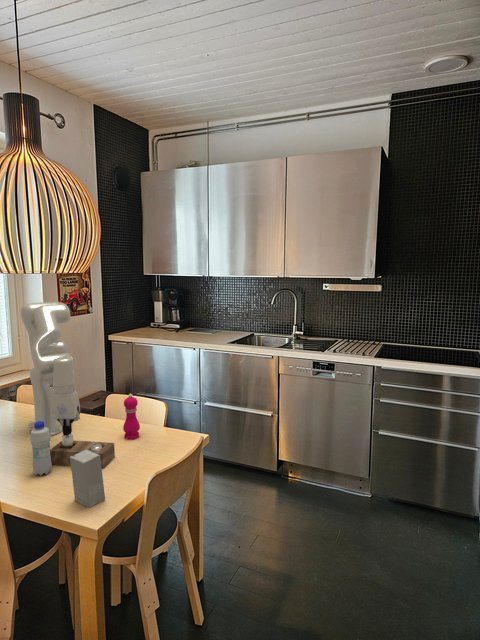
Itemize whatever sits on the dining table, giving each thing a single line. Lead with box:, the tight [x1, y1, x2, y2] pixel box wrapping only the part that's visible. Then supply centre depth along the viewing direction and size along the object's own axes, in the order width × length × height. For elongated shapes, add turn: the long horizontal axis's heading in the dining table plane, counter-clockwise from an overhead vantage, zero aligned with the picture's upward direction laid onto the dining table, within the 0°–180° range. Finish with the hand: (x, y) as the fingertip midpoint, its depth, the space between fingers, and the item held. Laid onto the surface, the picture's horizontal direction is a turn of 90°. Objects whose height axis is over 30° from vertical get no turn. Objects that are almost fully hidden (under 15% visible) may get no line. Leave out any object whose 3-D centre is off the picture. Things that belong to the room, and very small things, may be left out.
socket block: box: [50, 439, 116, 470], centre depth 165 cm, size 22×10×6 cm, turn 82°
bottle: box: [30, 421, 53, 477], centre depth 155 cm, size 7×7×20 cm
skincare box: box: [70, 450, 106, 508], centre depth 137 cm, size 8×7×16 cm
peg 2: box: [91, 444, 102, 451], centre depth 164 cm, size 4×4×6 cm
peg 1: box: [61, 433, 74, 449], centre depth 165 cm, size 4×4×6 cm
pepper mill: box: [122, 393, 141, 441], centre depth 187 cm, size 7×7×20 cm
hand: (67, 434), depth 165 cm, fingers closed
